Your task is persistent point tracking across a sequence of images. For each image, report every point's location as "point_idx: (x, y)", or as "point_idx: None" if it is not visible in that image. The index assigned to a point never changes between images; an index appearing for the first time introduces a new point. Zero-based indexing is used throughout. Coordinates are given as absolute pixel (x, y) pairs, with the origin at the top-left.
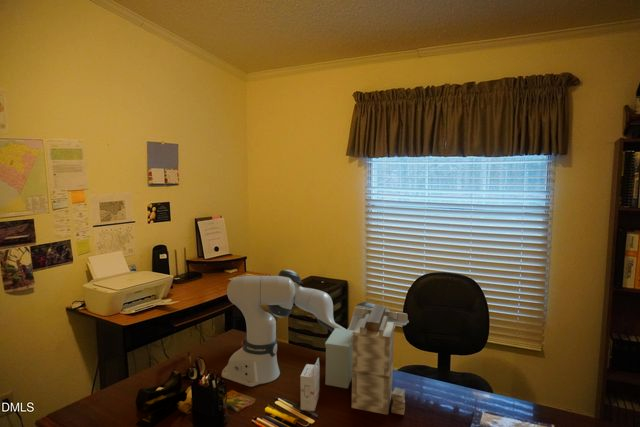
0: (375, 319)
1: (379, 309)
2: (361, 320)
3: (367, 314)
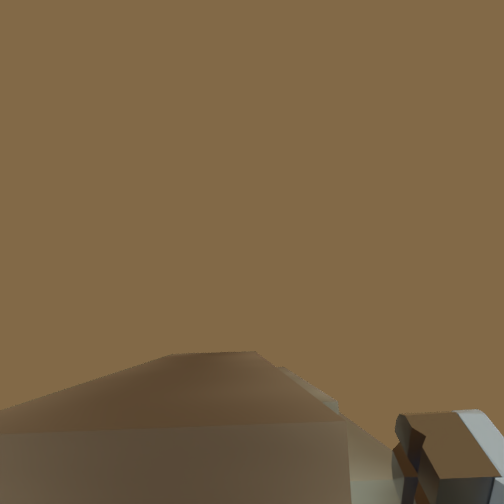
0: (200, 355)
1: (167, 380)
2: (378, 458)
3: (320, 398)
